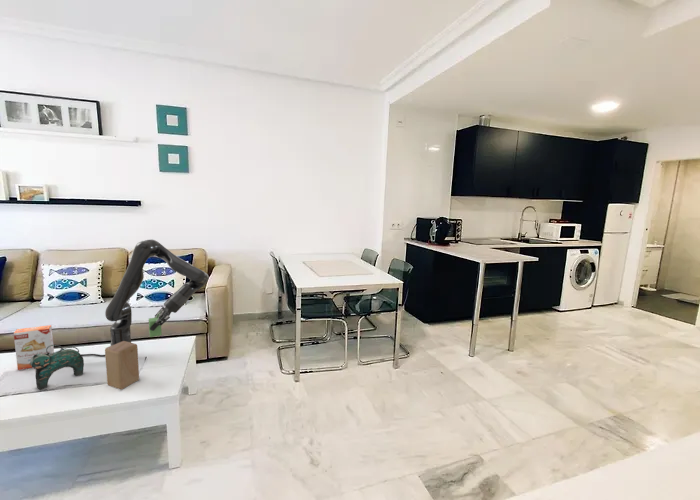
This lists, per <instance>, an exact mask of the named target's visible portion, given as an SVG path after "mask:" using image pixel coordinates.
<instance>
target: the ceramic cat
mask: <svg viewBox="0 0 700 500" xmlns="http://www.w3.org/2000/svg"><path fill="white" fill-rule="evenodd" d="M55 345H56V344H54V345H50V346H54V347H56V346H55ZM50 346H48V347H50ZM48 347H47V349H48ZM47 349H46V352H47ZM63 349H64V350H63ZM63 349H61V348H60V350H57V351H54V353H52V354H50V355H49V353H48V352H47V354H44V353H40V354H36V355H34V356H33V357H32V358H31V360H30V364H31V366H32V367H33V368H32V369H34V370H35V384H36V389H38V390H39V391H41V390H44V389H47V388H48V384H49V380H50V378H51V376H52V375H53V374H54V373H55V372H57V371H58V370H61V369H64V368H71V369H72V371H73V375H74V376H75V377H80V376H82V375H83V374H84V366H85V362H84V356H81V355H80V354H81V353H80V350H79V348H77V347H76V346H68V347H63ZM75 349H76V350H75Z"/></svg>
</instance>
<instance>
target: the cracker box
mask: <svg viewBox="0 0 700 500" xmlns="http://www.w3.org/2000/svg"><path fill="white" fill-rule="evenodd" d="M13 340H14V341H13V342H14V349H15V358H16V368H17V371H21V370H26V369H34V368H33V367H32V366H31V364H30V360H31V358H32V357H33V356H34V355H36V354H40V353H44V354H47V352H48V353H49V355H50V354H52V353H54V352H55V346H50V345H53V344H54V336H53V327H52V324H49V325H40V326H32V327H23V328H17V329H16V330H14V332H13ZM48 346H50V347H48ZM47 347H48V349H47ZM46 349H47V352H46Z"/></svg>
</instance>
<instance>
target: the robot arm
mask: <svg viewBox="0 0 700 500" xmlns="http://www.w3.org/2000/svg"><path fill="white" fill-rule="evenodd" d="M153 257H156V258H159V259H161V260H163V261H164V262H165V263H166V264H167V265H168V267H169V268H170V269H171V270H172V271H174V272H176V273H177V274H180V275H181V276H184V277H186V278H187V279H189V281H188V282H185V283H184V284H182V285H181V286H180V287H179V288H178V289H177V290H176V291H175V292H174V293H173V294H171V295H170V297H169V298H168V299H167V300H165V302H164V303H163V305H164V306H162V307H161V308H160V309H159V310H158V311H157V313H156V314H154V317H153V318H156V317H158V320H157V321H156V322H155V323H154V324H153V325H152V326H151V327H150V330H152V331H154V330H155V329H156V328H157V327H158V326H159V325H160V326H161V327H162V326H163V325H164V324H165V323H166V322H167V321H168V320H169V319H170V318H171V314H172V313H175V314H176V313H178V311H179V310H180V309H181V308H182V307H183V306H184V305H185V304H186V303H187V302H188V300H189V299H190V298H192V296H194V294H195V293H196V292H197V291H199V290H200V289H201V288H203V287H204V286H205V285H206V284H207V283H208V282H209V277H210V276H209V274H208V273H206V271H203V270H202V269H200V268H198V267H196V266H194V265H192V264H191V263H190V262H187V261H186V260H184V259H182V258H180V257H179V256H177V255H176V254H174V253H173V252H172V251H171V250H170V249H168V248H166V247H165V245H163V244H162V243H160V242H159V241H158V240H155V239H153V238H152V239H151V238H150V239H145V240H141V241H138V242H137V243H136V244H135V246H134V248H133V251H132V255H131V258H130V260H129V263H128V265H127V268H126V270H125V272H124V274H123V276H122V278H121V280H120V283H119V285H118V287H117V289H116V291H115V293H114V296H113V297H112V298H111V301H110V302H109V303H108V305H107V306H106V308H105V311H104V316H105V319H106V320H107V321H109V322H114V323H113V324H112V325H111V326H110V328H109V331H110V346H112V345H115V344H117V343H119V342H122V341H126V342H130V343H132V334H131V333H132V331H131V325H132V319H133V318H132V317H133V314H132V313H133V311H132V306H131V305H130V303H129V302H128V301H129V300H130V299H131V298H132V297H133V296H134V295H135V294H136V293H137V292H138V290H139V289H140V288H141V286H142V283H143V281H144V277H145V274H144V266H145V264H146V262H147V261H148V260H149V258H153ZM160 321H161V322H160ZM53 345H55V346H54V347H58V348H59V349H60V350H61V349H63V350H64V347H63V346H61V344H54V343H53ZM80 355H81V356H82V357H86V356H88V357H89V356H96V357H100V358H101V357H105V354H97V353H82V354H81V353H80Z"/></svg>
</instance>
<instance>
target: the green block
mask: <svg viewBox="0 0 700 500" xmlns="http://www.w3.org/2000/svg"><path fill="white" fill-rule="evenodd" d="M157 320H158V317H156V318H154V317H150V318H148V332H149V333H148V335H149V338H154V337H159V336H162V325H161V326H160V325H159V326H158V327H157V328H156V329H155V330H154V331H152V330H150V327H151V326H152V325H153V324H154V323H155V322H156V321H157ZM160 322H161V321H160Z"/></svg>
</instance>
